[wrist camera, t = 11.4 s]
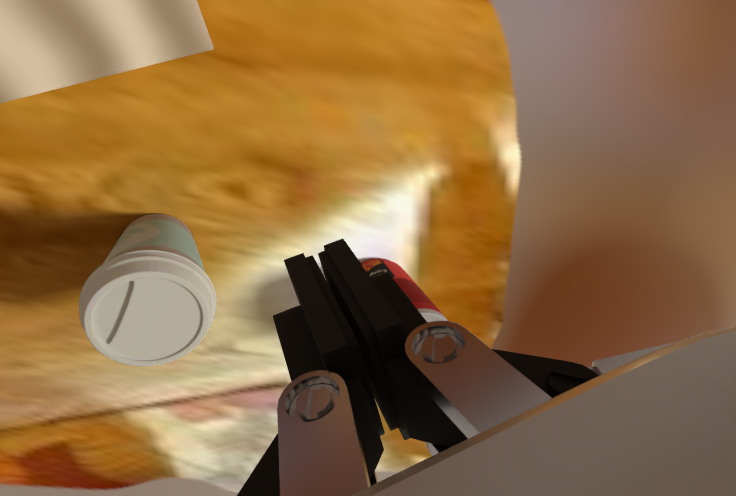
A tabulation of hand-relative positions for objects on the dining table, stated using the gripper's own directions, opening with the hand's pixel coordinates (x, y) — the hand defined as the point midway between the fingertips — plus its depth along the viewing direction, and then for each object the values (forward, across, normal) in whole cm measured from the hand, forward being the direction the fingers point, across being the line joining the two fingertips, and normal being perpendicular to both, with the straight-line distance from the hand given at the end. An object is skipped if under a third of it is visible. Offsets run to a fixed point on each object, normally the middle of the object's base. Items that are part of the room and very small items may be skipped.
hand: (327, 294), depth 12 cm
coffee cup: (+29, +10, +9) cm, 32 cm away
